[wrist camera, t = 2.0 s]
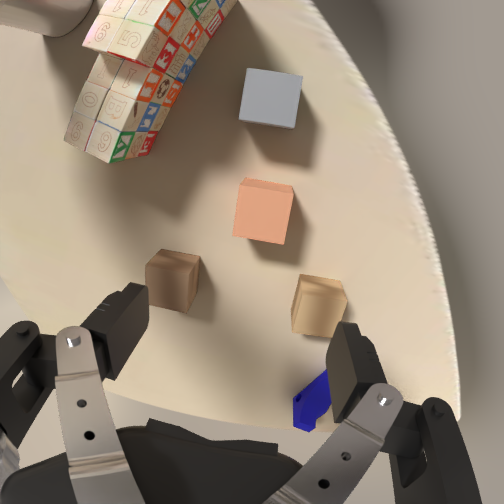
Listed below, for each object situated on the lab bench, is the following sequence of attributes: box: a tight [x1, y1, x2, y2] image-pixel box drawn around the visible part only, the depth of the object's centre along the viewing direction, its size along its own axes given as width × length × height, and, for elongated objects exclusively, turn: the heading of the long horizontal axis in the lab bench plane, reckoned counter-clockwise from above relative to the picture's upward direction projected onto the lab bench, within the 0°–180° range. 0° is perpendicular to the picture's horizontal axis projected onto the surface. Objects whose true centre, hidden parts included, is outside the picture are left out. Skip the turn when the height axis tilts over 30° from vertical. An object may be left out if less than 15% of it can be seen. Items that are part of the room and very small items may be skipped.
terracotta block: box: [232, 178, 294, 245], centre depth 30 cm, size 5×5×5 cm
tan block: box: [145, 249, 200, 313], centre depth 34 cm, size 5×5×5 cm
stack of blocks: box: [64, 0, 238, 163], centre depth 22 cm, size 21×6×12 cm, turn 151°
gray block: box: [239, 68, 303, 130], centre depth 26 cm, size 5×5×5 cm
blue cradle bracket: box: [293, 369, 332, 432], centre depth 39 cm, size 12×4×6 cm, turn 147°
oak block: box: [291, 274, 348, 338], centre depth 34 cm, size 5×5×5 cm
